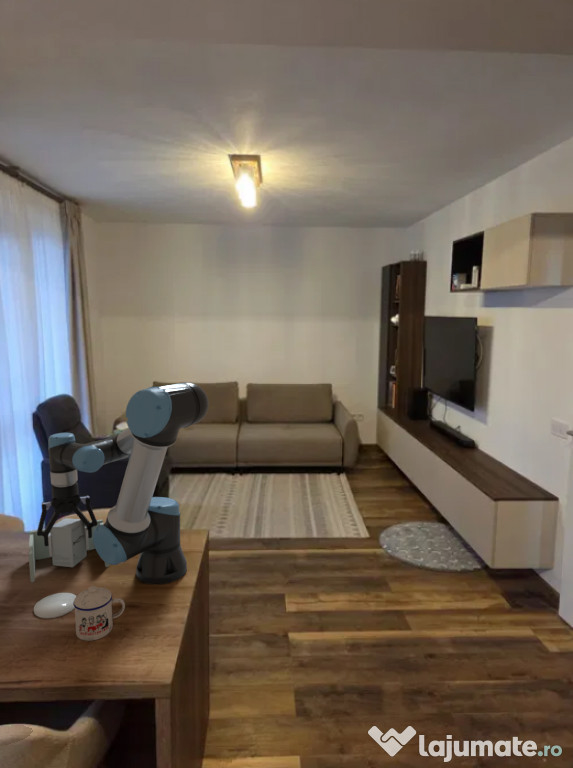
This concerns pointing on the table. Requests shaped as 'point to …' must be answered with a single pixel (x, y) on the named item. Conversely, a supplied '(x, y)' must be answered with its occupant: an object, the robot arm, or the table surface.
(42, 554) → the three-sided green enclosure
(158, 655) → the table surface
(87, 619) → the teacup with lid
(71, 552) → the supplement box
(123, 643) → the table surface
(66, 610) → the coaster
